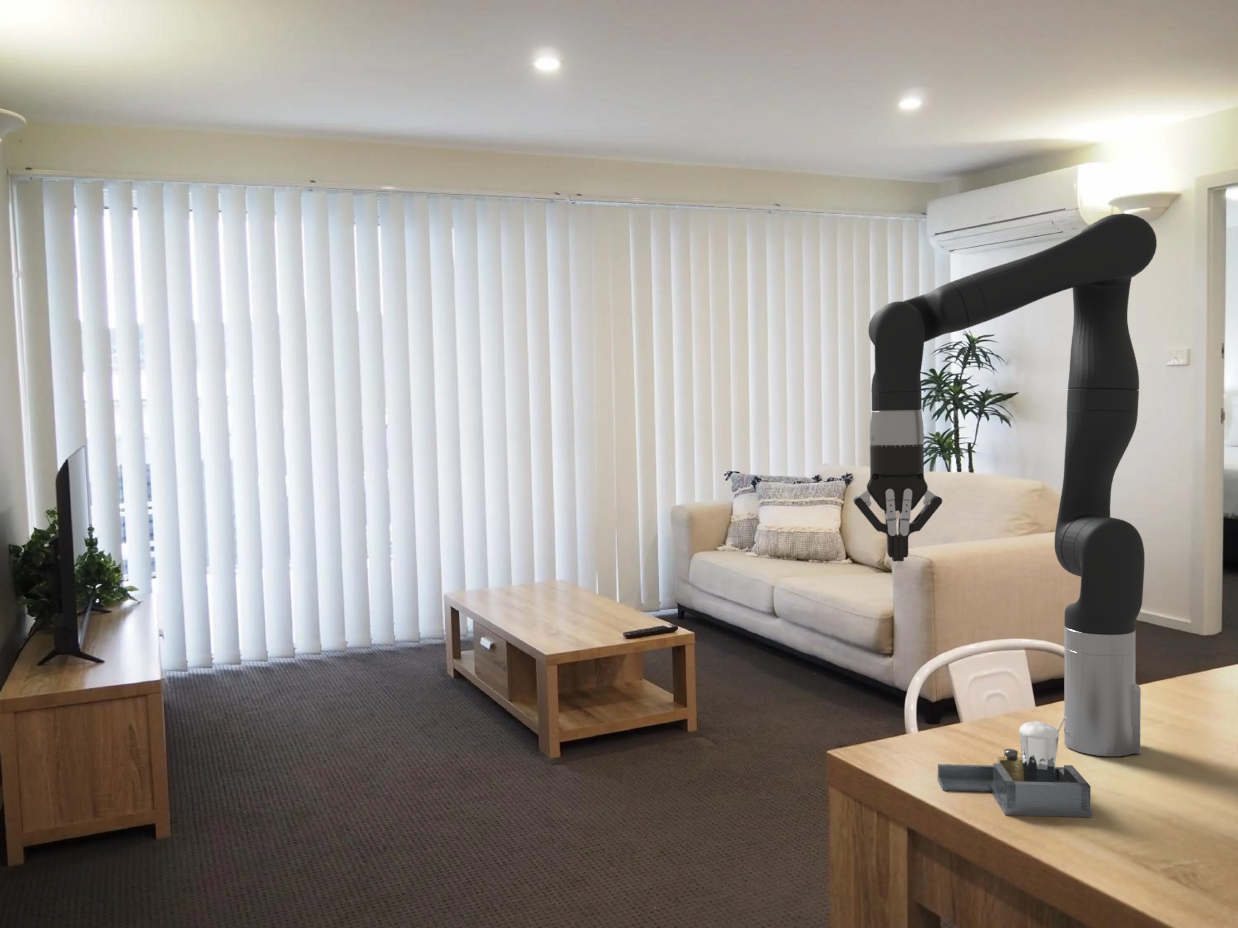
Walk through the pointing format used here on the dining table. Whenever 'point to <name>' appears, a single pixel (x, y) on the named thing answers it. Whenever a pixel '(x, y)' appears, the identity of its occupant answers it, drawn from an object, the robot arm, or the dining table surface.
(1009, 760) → the bar
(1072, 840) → the dining table surface
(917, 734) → the dining table surface
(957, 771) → the dock
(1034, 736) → the milkshake
